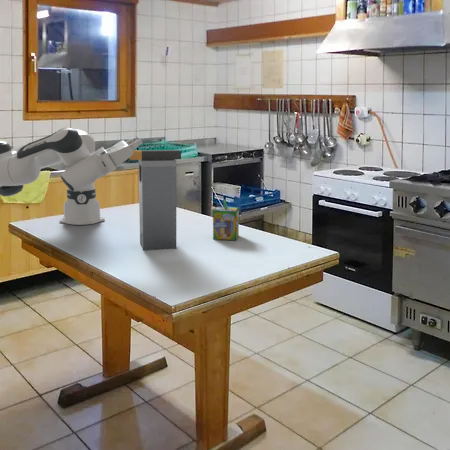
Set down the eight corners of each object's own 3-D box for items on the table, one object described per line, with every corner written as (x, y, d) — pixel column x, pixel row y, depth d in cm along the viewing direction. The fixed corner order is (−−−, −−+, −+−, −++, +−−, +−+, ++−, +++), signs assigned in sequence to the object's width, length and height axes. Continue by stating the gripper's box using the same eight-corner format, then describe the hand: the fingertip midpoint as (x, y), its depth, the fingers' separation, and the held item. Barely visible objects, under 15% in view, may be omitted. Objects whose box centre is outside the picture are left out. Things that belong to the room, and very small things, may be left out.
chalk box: (235, 241, 223) (236, 203, 220) (212, 239, 224) (212, 201, 221) (239, 235, 232) (240, 198, 228) (216, 234, 233) (217, 197, 230)
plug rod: (129, 158, 205) (129, 150, 205) (179, 158, 210) (179, 149, 209) (130, 159, 203) (130, 151, 202) (181, 159, 207) (181, 150, 206)
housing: (140, 243, 217) (138, 157, 210) (171, 241, 220) (171, 157, 213) (143, 250, 207) (141, 161, 200) (176, 248, 210) (176, 160, 203)
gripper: (108, 164, 212) (140, 144, 214) (113, 172, 193) (148, 150, 195) (99, 149, 210) (131, 129, 212) (102, 155, 191) (138, 134, 193)
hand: (139, 139), depth 203 cm, fingers open, 8 cm apart
